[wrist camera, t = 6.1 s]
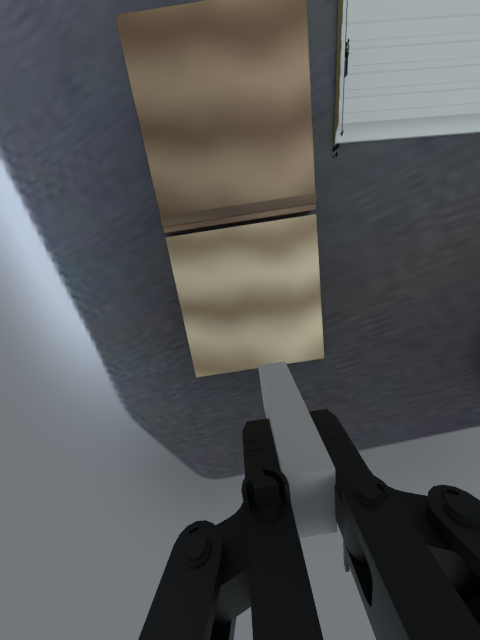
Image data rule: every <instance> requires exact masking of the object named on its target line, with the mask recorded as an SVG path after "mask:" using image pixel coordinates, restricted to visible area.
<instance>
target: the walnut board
mask: <svg viewBox="0 0 480 640" xmlns="http://www.w3.org/2000/svg"><path fill="white" fill-rule="evenodd" d="M115 19H116V23H117V28H118V32H119V36H120V41H121V45H122V49H123V54H124V58H125V63H126V67H127V71H128V76H129V80H130V85H131V89H132V93H133V98H134V102H135V107H136V111H137V115H138V120H139V124H140V128H141V133H142V137H143V142H144V146H145V150H146V155H147V159H148V164H149V168H150V172H151V177H152V181H153V185H154V190H155V194H156V199H157V203H158V207H159V212H160V216H161V217H160V220H161V224H162V227H163V229H164V233H167V234H173V233H180V232H186V231H193V230H199V229H206V228H212V227H219V226H225V225H232V224H238V223H245V222H251V221H258V220H264V219H271V218H277V217H284V216H290V215H297V214H303V213H309V212H311V211H314V210H316V203H317V196H316V193H315V178H314V156H313V134H312V112H311V91H310V69H309V47H308V25H307V3H306V0H206V1H199V2H193V3H187V4H181V5H174V6H168V7H162V8H156V9H149V10H143V11H137V12H131V13H124V14H118V15H115Z"/></svg>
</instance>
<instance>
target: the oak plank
mask: <svg viewBox="0 0 480 640" xmlns="http://www.w3.org/2000/svg"><path fill="white" fill-rule="evenodd" d="M165 238H166V243H167V247H168V252H169V256H170V261H171V265H172V270H173V274H174V279H175V283H176V288H177V292H178V297H179V302H180V306H181V311H182V315H183V320H184V324H185V329H186V333H187V338H188V342H189V347H190V351H191V356H192V360H193V365H194V369H195V374H196V377H202V376H208V375H215V374H222V373H228V372H235V371H242V370H248V369H255V368H258V365H264V364H271V363H277V362H284V361H285V362H286V364H288V363H295V362H301V361H308V360H315V359H321V358H324V346H323V328H322V310H321V292H320V274H319V256H318V238H317V220H316V214H314V215H308V216H301V217H295V218H288V219H282V220H275V221H269V222H262V223H256V224H249V225H243V226H236V227H230V228H223V229H217V230H210V231H204V232H197V233H191V234H184V235H178V236H171V237H165Z"/></svg>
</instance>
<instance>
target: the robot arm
mask: <svg viewBox="0 0 480 640" xmlns="http://www.w3.org/2000/svg"><path fill="white" fill-rule="evenodd" d="M258 368H259V375H260V382H261V389H262V397H263V404H264V410H265V414H266V419H262V420H255V421H248V422H246V424H245V427H244V429H243V431H242V433H243V449H244V465H245V479H244V480H243V484H242V495H243V501H244V502H243V504H242V505H241V507H240V509H239V510H238V511H237V512H236V513H235V514H234V515H232V516H231V517H230V518H228V519H226V520H224V521H223V522H221V523H219V524H217V525H214V524H213V523H211V522H208V521H196V522H194V523H192V524H191V525H189V526H187V527H186V528H185V529H184V530H183V531H182V532H181V534H180V535H179V537H178V539H177V540H176V542H175V544H174V546H173V549H172V552H171V554H170V557H169V560H168V562H167V565H166V567H165V570H164V573H163V576H162V578H161V581H160V584H159V586H158V589H157V591H156V594H155V597H154V599H153V602H152V605H151V608H150V610H149V613H148V615H147V618H146V621H145V624H144V626H143V629H142V631H141V634H140V637H139V640H233V638H234V631H235V624H236V617H237V616H238V615H240V614H241V613H242V612H244V611H245V610H247V609H248V608H250V607H251V611H252V628H253V640H323V636H322V632H321V628H320V624H319V619H318V616H317V611H316V607H315V602H314V598H313V594H312V590H311V586H310V581H309V577H308V573H307V569H306V564H305V560H304V556H303V552H302V548H301V543H300V539H299V538H300V537H306V536H313V535H320V534H327V533H334V532H337V524H338V526H339V528H340V531H341V534H342V537H343V545H344V565H345V570H346V572H347V571H349V566H350V569H351V572H352V575H353V577H354V580H355V583H356V585H357V588H358V591H359V594H360V596H361V599H362V602H363V604H364V607H365V610H366V613H367V615H368V618H369V621H370V624H371V626H372V629H373V632H374V634H375V637H376V640H480V500H478V499H477V498H475V497H474V496H472V495H471V494H469V493H468V492H466V491H463V490H461V489H459V488H456V487H453V486H447V485H438V486H433V487H432V488H431V489H430V490H429V492H428V496H425V495H419V494H413V493H408V492H403V491H399V490H395V489H393V488H391V487H389V486H387V485H386V484H385V483H384V482H383V481H382V480H380V479H379V478H377V477H376V476H374V475H373V474H372V473H371V471H370V470H369V469H368V467H367V465H366V464H365V462H364V460H363V459H362V457H361V456H360V454H359V452H358V451H357V449H356V447H355V446H354V444H353V443H352V441H351V439H350V438H349V437H348V435H347V433H346V431H345V430H344V429H343V426H342V425H341V423H340V422H339V420H338V418H337V417H336V416H335V415H334V414H332V413H331V412H330V411H328V410H327V409H324V410H318V411H311V412H308V409H307V407H306V405H305V403H304V401H303V399H302V397H301V394H300V392H299V390H298V388H297V386H296V384H295V382H294V380H293V377H292V375H291V373H290V371H289V369H288V367H287V365H286V362H285V361H284V362H277V363H271V364H264V365H258Z"/></svg>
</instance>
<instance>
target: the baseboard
mask: <svg viewBox="0 0 480 640" xmlns="http://www.w3.org/2000/svg"><path fill="white" fill-rule="evenodd" d="M475 133H480V0H338V24H337V56H336V87H335V118H334V145H335V144H337V145H336V146H335V147H334V146H333V151H335V150H336V149H337V148H338V147H339V144H348V143H361V142H373V141H386V140H399V139H411V138H424V137H437V136H449V135H462V134H475ZM337 154H338V153H337V152H336V155H335V156H336V157H337ZM335 156H334V157H335Z"/></svg>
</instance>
